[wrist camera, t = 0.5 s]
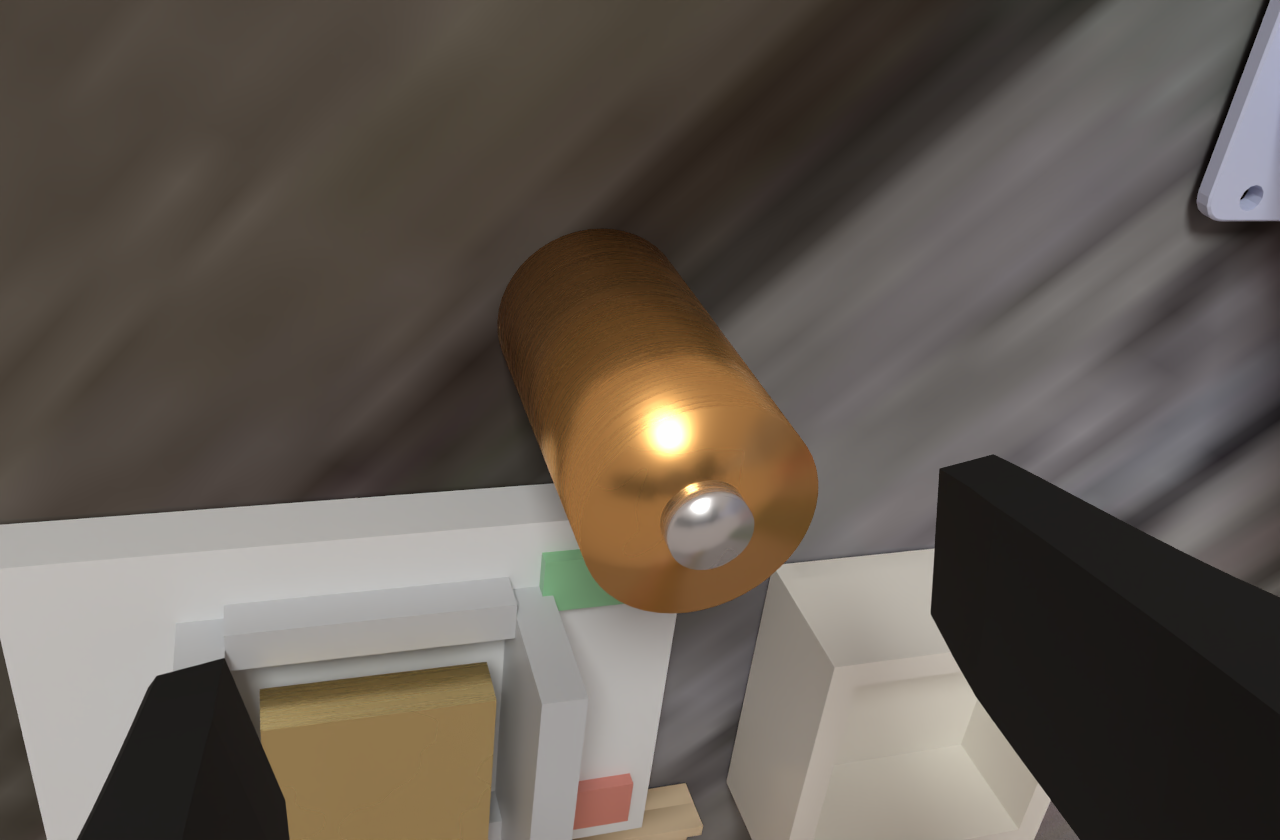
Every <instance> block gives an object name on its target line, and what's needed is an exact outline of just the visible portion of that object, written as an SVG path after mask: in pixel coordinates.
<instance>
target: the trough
mask: <svg viewBox="0 0 1280 840" xmlns="http://www.w3.org/2000/svg"><path fill="white" fill-rule="evenodd" d="M702 829H703V825H702V822H701V820H700V817H699V815H698V813H697V810H696V808H695V805H694V803H693V800H692V798H691V795H690V793H689V790H688V788H687V785H686V783H683V784H677V785H671V786H664V787H658V788H652V789H648V792H647V798H646V804H645V811H644V817H643V823H642V827H641V828H635V829H629V830H623V831H617V832H612V833H606V834H600V835H594V836H588V837H582V838H576V839H572V840H686V838H687V837H691V836H697V835H701V834H702Z"/></svg>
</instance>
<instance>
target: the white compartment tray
mask: <svg viewBox="0 0 1280 840" xmlns="http://www.w3.org/2000/svg"><path fill="white" fill-rule="evenodd" d="M676 615H677V613H656V612H650V611H644V610H640V609H637V608H634V607H631V606H628V605H626V604H624V603H622V602H620V601H618V600H617V599H615V598H614V597H612V596H611V595H609V594H608V593H607V592H606V591H605V590H603V589H602V588H601V587H600V586H599V585H598V583H597V582H596V581H595V580H594V578H593V577H592V575H591V574H590V572H589V570H588V568H587V566H586V564H585V561H584V559H583V556H582V553H581V551H580V548H579V546H578V543H577V541H576V538H575V536H574V533H573V531H572V528H571V525H570V523H569V520H568V518H567V515H566V513H565V510H564V508H563V505H562V503H561V500H560V497H559V495H558V492H557V490H556V487H555V485H554V483H552V484H539V485H525V486H512V487H499V488H485V489H472V490H459V491H445V492H432V493H419V494H405V495H392V496H378V497H365V498H352V499H338V500H325V501H312V502H298V503H285V504H272V505H258V506H245V507H232V508H218V509H205V510H191V511H178V512H165V513H151V514H138V515H125V516H111V517H98V518H85V519H71V520H58V521H44V522H31V523H18V524H4V525H0V640H1V644H2V648H3V652H4V657H5V661H6V665H7V670H8V674H9V678H10V682H11V687H12V691H13V695H14V700H15V704H16V708H17V712H18V717H19V721H20V725H21V730H22V734H23V738H24V742H25V747H26V751H27V755H28V760H29V764H30V768H31V772H32V777H33V781H34V785H35V790H36V794H37V798H38V802H39V807H40V811H41V815H42V820H43V824H44V828H45V832H46V837H47V840H77V838H78V836H79V834H80V832H81V830H82V828H83V826H84V824H85V822H86V820H87V818H88V816H89V814H90V812H91V810H92V808H93V806H94V804H95V802H96V800H97V798H98V796H99V794H100V792H101V790H102V787H103V785H104V783H105V781H106V779H107V777H108V775H109V773H110V771H111V769H112V766H113V764H114V762H115V760H116V758H117V756H118V753H119V751H120V749H121V747H122V745H123V743H124V740H125V738H126V736H127V734H128V731H129V729H130V727H131V725H132V723H133V720H134V718H135V716H136V714H137V711H138V709H139V707H140V705H141V702H142V700H143V698H144V696H145V693H146V691H147V689H148V687H149V686H150V684H151V683H152V681H153V680H154V679H155V677H156V676H158V675H162V674H165V673H169V672H173V671H177V670H180V669H184V668H188V667H192V666H196V665H199V664H203V663H207V662H211V661H215V660H218V659H222V658H225V660H226V662H227V665H228V667H229V669H230V672H231V674H232V676H233V679H234V681H235V683H236V686H237V688H238V690H239V693H240V695H241V698H242V700H243V702H244V705H245V707H246V709H247V712H248V714H249V716H250V719H251V721H252V723H253V726H254V728H255V730H256V733H257V735H258V737H259V740H260V742H261V733H260V689H264V688H273V687H281V686H289V685H298V684H306V683H314V682H323V681H331V680H339V679H347V678H356V677H364V676H372V675H381V674H389V673H397V672H406V671H414V670H422V669H431V668H439V667H447V666H456V665H464V664H472V663H481V662H487V665H488V668H489V672H490V676H491V680H492V684H493V688H494V692H495V696H496V700H497V703H496V719H495V735H494V751H493V767H492V783H491V799H490V815H489V831H488V840H572V839H576V838H582V837H588V836H594V835H600V834H606V833H612V832H617V831H623V830H629V829H635V828H641V827H642V823H643V817H644V811H645V804H646V798H647V792H648V786H649V780H650V774H651V768H652V762H653V756H654V749H655V743H656V737H657V731H658V725H659V719H660V713H661V707H662V701H663V695H664V688H665V682H666V676H667V670H668V664H669V658H670V652H671V646H672V640H673V634H674V627H675V621H676Z"/></svg>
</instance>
